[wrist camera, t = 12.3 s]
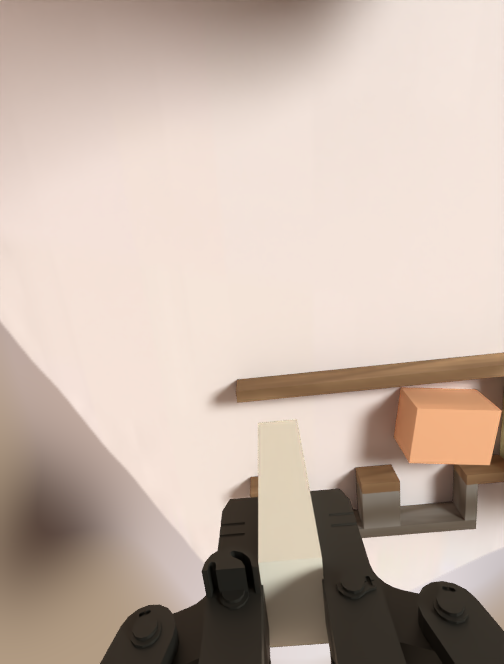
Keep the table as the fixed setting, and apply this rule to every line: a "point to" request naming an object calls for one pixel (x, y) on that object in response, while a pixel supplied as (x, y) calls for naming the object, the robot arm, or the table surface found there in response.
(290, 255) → the table surface
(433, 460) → the terracotta block
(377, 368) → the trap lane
